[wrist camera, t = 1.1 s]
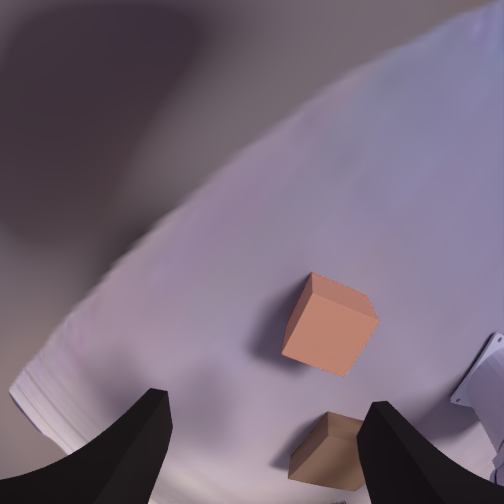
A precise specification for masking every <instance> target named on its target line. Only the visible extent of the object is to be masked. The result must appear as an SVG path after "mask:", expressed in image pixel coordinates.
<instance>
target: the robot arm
mask: <svg viewBox="0 0 504 504" xmlns="http://www.w3.org/2000/svg"><path fill="white" fill-rule="evenodd" d="M498 339H499V340H498ZM450 401H451V403H454V404H458V405H462V406H467V407H471V408H473V409H474V411H475V413H476V415H477V416H478V418H479V420H480V422H481V424H482V426H483V427H484V429H485V431H486V433H487V435H488V437H489V439H490V441H491V442H492V444H493V446H494V448H495V450H496V452H497V455H496V457H495V458H494V459H493V460H492V461H493V464H494V466H495V468H496V469H494V471H493V472H492V473H491V475H490V480H489V481H488V480H486V479H483V478H481V477H479V476H477V475H476V474H474V473H472V472H470V471H468V470H466V469H465V468H463V467H461V466H460V465H458V464H457V463H455V462H454V461H452V460H451V459H450V458H448V457H447V456H446V455H444V454H443V453H442V452H441V451H439V450H438V449H437V448H436V447H435V446H433V445H432V444H431V443H430V442H429V441H428V440H427V439H425V438H424V437H423V436H422V435H421V434H420V433H419V432H418V431H417V430H416V429H415V428H414V427H413V426H412V425H411V424H410V423H409V422H408V421H407V420H406V419H405V418H404V417H403V416H402V415H401V414H400V413H399V412H398V411H397V410H396V409H395V408H394V407H393V406H392V405H391V404H390V403H389V402H388V401H380V402H372V404H371V407H370V409H369V411H368V413H367V415H366V417H365V420H364V422H363V424H362V426H361V428H360V430H359V432H358V434H357V436H356V439H357V447H358V454H359V460H360V464H361V467H362V471H363V475H364V478H365V482H366V485H367V489H368V493H369V496H370V500H371V504H504V335H502V334H500V333H498V332H496V333H494V334H493V335H492V337H491V339H490V340H489V342H488V344H487V345H486V347H485V349H484V350H483V352H482V353H481V355H480V357H479V358H478V360H477V361H476V363H475V364H474V366H473V367H472V369H471V370H470V372H469V373H468V374H467V376H466V377H465V379H464V380H463V381H462V383H461V384H460V385H459V387H458V388H457V389H456V391H455V392H454V393H453V395H452V396H451V397H450ZM172 429H173V425H172V419H171V412H170V405H169V398H168V391H164V390H158V389H153V388H150V389H149V390H148V391H147V392H146V393H145V394H144V395H143V396H142V397H141V398H140V399H139V400H138V401H137V402H136V403H135V404H134V405H133V406H132V407H131V408H130V409H129V410H128V411H127V412H126V413H124V414H123V415H122V416H121V417H120V418H119V419H118V420H117V421H115V422H114V423H113V424H112V425H111V426H110V427H109V428H107V429H106V430H105V431H103V432H102V433H101V434H100V435H98V436H97V437H96V438H94V439H93V440H92V441H90V442H89V443H87V444H86V445H85V446H83V447H82V448H80V449H78V450H77V451H75V452H73V453H72V454H70V455H68V456H67V457H64V458H63V459H61V460H59V461H57V462H55V463H53V464H50V465H48V466H46V467H44V468H41V469H38V470H35V471H32V472H29V473H26V474H24V475H20V476H16V477H11V478H7V479H2V480H0V504H148V502H149V498H150V495H151V493H152V490H153V487H154V485H155V482H156V479H157V477H158V474H159V472H160V469H161V466H162V464H163V461H164V458H165V456H166V453H167V450H168V446H169V442H170V438H171V433H172Z"/></svg>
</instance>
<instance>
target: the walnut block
mask: <svg viewBox="0 0 504 504" xmlns="http://www.w3.org/2000/svg"><path fill="white" fill-rule="evenodd" d="M363 422H364V421H362V420H358V419H354V418H350V417H346V416H342V415H339V414H335V413H332V412H327V413H326V414H325V416H324V417H323V418H322V420H321V421H320V422H319V423H318V425H317V426H316V427H315V429H314V430H313V431H312V432H311V433H310V435H309V436H308V437H307V438H306V439H305V441H304V442H303V443H302V444H301V445H300V447H299V448H298V449H297V450H296V451H295V452H294V453H293V455H292V456H291V459H290V466H289V473H288V479H291V480H296V481H300V482H304V483H309V484H314V485H319V486H324V487H330V488H336V489H342V490H350V491H356V490H357V489H359V488H360V487H361V486H362V485H364V484H365V483H366V482H365V478H364V475H363V471H362V467H361V464H360V460H359V454H358V447H357V439H356V436H357V434H358V432H359V430H360V428H361V426H362V424H363Z"/></svg>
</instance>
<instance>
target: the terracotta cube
mask: <svg viewBox="0 0 504 504" xmlns="http://www.w3.org/2000/svg"><path fill="white" fill-rule="evenodd" d="M378 322H379V319H378V317H377V315H376V313H375V310H374V308H373V307H372V305H371V303H370V301H369V299H368V297H367V295H365V294H363V293H361V292H358V291H356V290H354V289H351V288H349V287H347V286H344V285H342V284H340V283H337V282H335V281H333V280H330V279H328V278H326V277H323V276H321V275H319V274H316V273H314V272H312V273H311V275H310V277H309V279H308V281H307V283H306V285H305V288H304V290H303V292H302V294H301V296H300V298H299V300H298V302H297V304H296V306H295V308H294V310H293V313H292V315H291V317H290V319H289V321H288V323H287V326H286V332H285V337H284V342H283V348H282V353H281V354H282V355H285V356H287V357H290V358H292V359H295V360H298V361H300V362H303V363H305V364H308V365H311V366H314V367H316V368H319V369H322V370H325V371H327V372H330V373H333V374H336V375H339V376H342V377H345V375H346V374H347V372H348V371H349V369H350V368H351V366H352V365H353V363H354V362H355V360H356V358H357V357H358V355H359V354H360V352H361V351H362V349H363V347H364V346H365V344H366V343H367V341H368V339H369V338H370V336H371V334H372V333H373V331H374V329H375V328H376V326H377V324H378Z"/></svg>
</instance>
